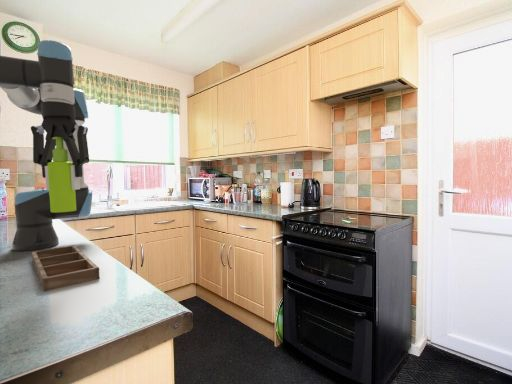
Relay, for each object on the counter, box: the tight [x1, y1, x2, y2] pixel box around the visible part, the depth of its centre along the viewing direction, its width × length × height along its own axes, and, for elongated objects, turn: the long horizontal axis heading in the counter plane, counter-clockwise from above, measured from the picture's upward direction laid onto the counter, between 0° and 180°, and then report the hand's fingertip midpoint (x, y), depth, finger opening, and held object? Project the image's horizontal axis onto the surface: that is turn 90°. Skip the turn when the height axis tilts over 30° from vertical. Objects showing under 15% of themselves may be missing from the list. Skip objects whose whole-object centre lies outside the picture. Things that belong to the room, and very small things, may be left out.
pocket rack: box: [31, 244, 101, 292], centre depth 89 cm, size 36×12×3 cm, turn 41°
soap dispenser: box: [47, 137, 76, 213], centre depth 79 cm, size 6×7×20 cm
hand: (63, 189), depth 79 cm, fingers closed on soap dispenser, 6 cm apart
